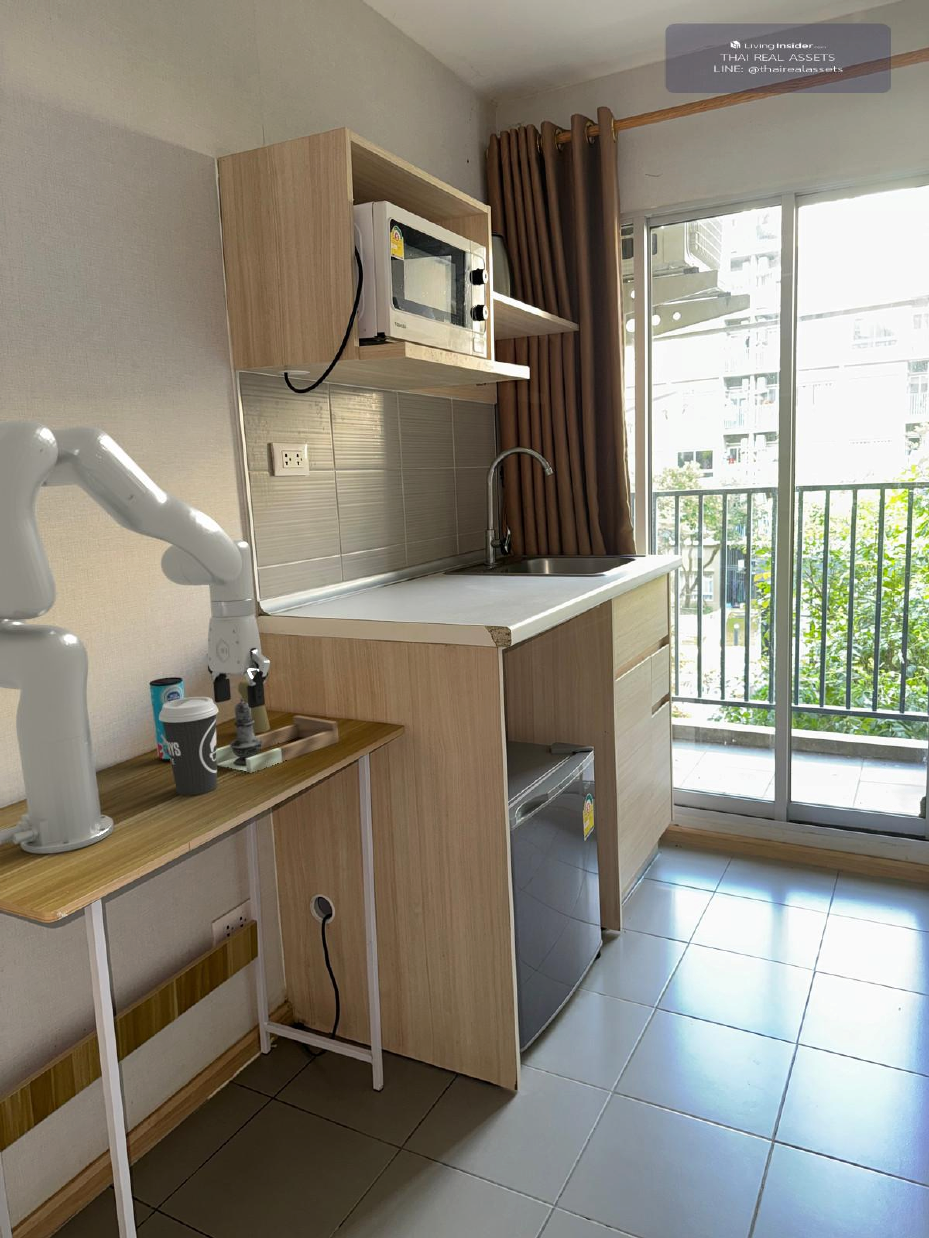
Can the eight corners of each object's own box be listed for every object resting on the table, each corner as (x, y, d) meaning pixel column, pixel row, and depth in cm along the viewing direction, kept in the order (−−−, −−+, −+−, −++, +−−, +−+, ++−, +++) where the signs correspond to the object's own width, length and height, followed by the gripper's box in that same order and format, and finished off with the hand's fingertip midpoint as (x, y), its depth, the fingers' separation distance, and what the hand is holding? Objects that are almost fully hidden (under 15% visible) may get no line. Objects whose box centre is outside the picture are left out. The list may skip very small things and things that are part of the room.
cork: (239, 728, 185) (234, 678, 183) (268, 725, 187) (263, 674, 185) (241, 736, 179) (236, 683, 178) (271, 732, 181) (266, 680, 179)
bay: (251, 773, 154) (249, 751, 154) (212, 763, 161) (209, 742, 161) (338, 741, 171) (337, 721, 170) (299, 734, 178) (297, 715, 177)
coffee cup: (199, 776, 154) (190, 693, 152) (238, 783, 149) (229, 697, 147) (155, 794, 146) (144, 707, 144) (195, 802, 141) (185, 711, 139)
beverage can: (166, 764, 163) (156, 685, 161) (153, 758, 167) (144, 681, 165) (196, 756, 167) (187, 679, 164) (183, 750, 171) (174, 675, 169)
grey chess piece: (268, 756, 163) (262, 693, 162) (258, 766, 158) (251, 701, 156) (238, 756, 164) (231, 694, 162) (226, 766, 158) (220, 702, 156)
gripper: (186, 610, 159) (193, 703, 161) (246, 613, 148) (253, 712, 150) (220, 606, 165) (227, 695, 167) (280, 609, 154) (287, 704, 156)
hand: (239, 703), depth 158 cm, fingers open, 9 cm apart
